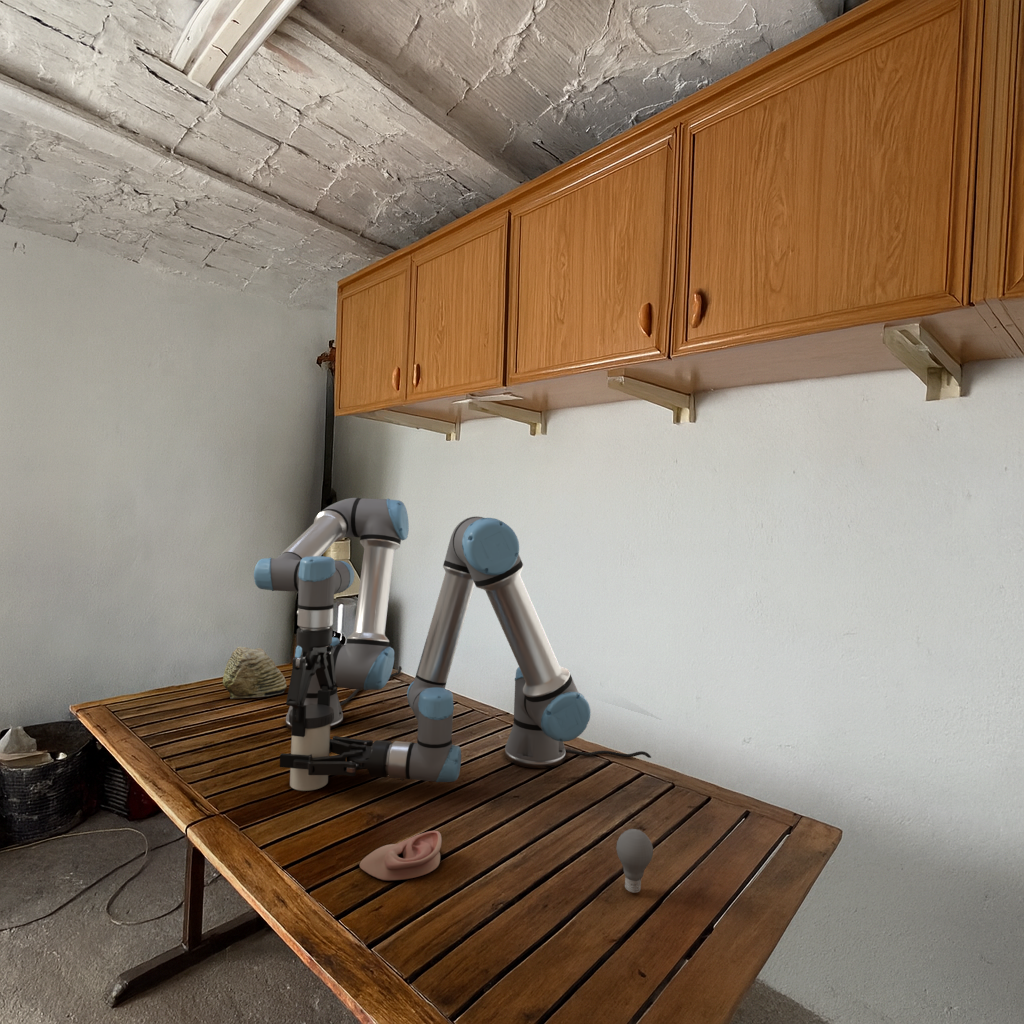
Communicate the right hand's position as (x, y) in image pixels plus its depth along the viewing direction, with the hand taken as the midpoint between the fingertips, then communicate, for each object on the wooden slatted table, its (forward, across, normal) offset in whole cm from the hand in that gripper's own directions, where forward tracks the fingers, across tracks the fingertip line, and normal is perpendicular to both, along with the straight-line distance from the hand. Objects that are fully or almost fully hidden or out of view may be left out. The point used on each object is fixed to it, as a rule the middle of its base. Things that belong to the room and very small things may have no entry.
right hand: (289, 752), depth 140 cm
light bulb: (-72, -30, -6) cm, 78 cm away
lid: (-5, 0, +9) cm, 10 cm away
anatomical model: (-32, -28, -6) cm, 43 cm away
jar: (-5, 0, -6) cm, 8 cm away
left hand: (-5, 0, +6) cm, 8 cm away
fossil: (+35, +55, -6) cm, 66 cm away
